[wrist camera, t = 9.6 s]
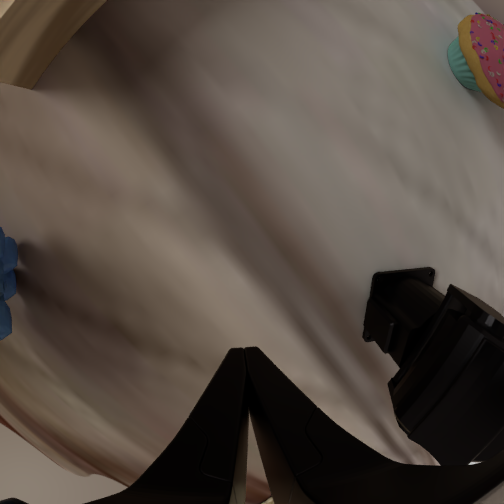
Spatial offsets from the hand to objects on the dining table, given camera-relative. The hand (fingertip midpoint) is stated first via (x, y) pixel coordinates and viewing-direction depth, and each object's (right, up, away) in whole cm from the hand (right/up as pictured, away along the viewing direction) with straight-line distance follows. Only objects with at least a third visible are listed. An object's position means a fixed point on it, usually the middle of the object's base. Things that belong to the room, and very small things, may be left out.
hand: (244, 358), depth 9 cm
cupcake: (+19, +20, +8) cm, 29 cm away
